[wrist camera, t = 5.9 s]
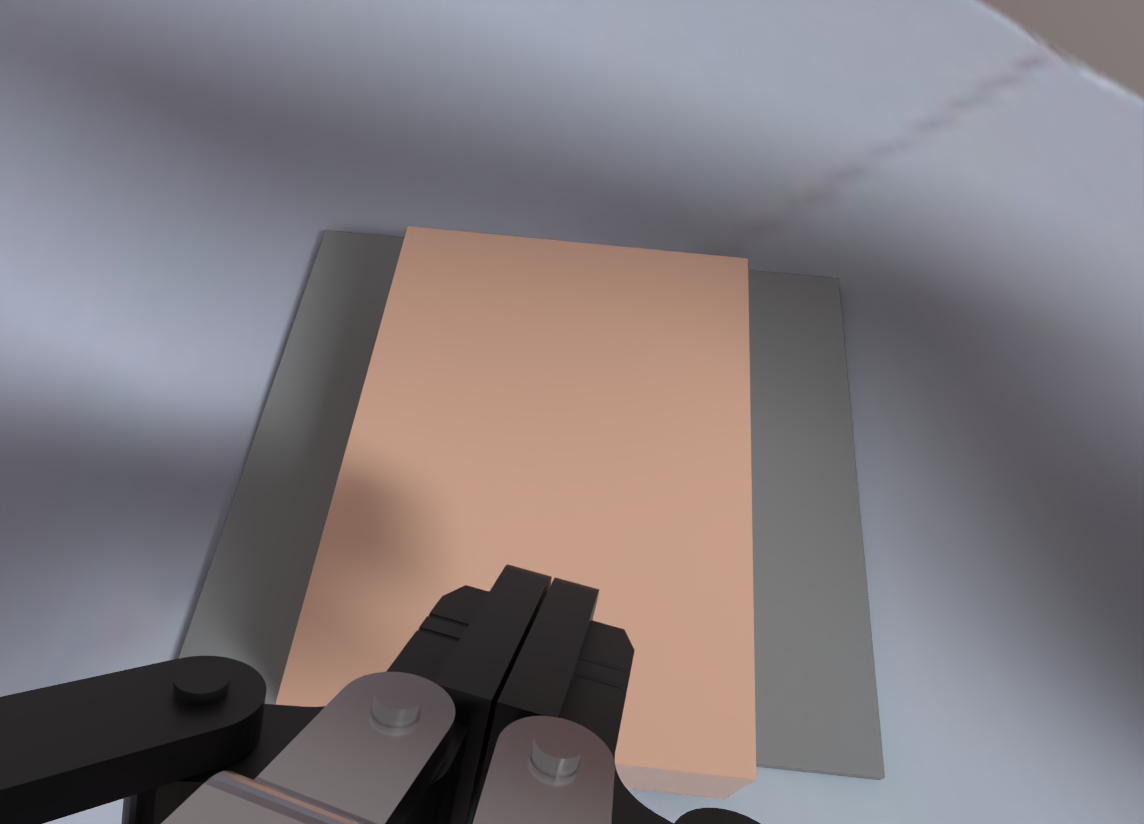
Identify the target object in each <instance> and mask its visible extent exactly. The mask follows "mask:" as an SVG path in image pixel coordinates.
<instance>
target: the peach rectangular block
mask: <svg viewBox="0 0 1144 824" xmlns="http://www.w3.org/2000/svg"><path fill="white" fill-rule="evenodd" d="M507 564H508V565H512V566H516V567H519V568H523V569H527V570H530V571H534V572H537V573H541V574H545V575H548V576H551V577H552V579H551V584H552V582H553V580H554V578H555V577H556V578H560V579H563V580H567V581H571V582H574V583H578V584H582V585H585V586H589V587H592V588H596V589H599V595H598V599H597V603H596V608H595V612H594V616H593V621H596V622H600V623H604V624H607V625H611V626H614V627H618V628H621V629H625V631H626V633H627V636H628V638H629V640H630V642H631V644H632V646H633V648H634V650H635V651H634V656H633V662H632V667H631V672H630V677H629V683H628V688H627V693H626V699H625V704H624V709H623V714H622V720H621V725H620V730H619V735H618V741H617V746H616V751H615V766H616V770H617V773H618V776H619V778H620V779H621V781H622V783H623V784H624V786H625V787H626V788H630V789H639V790H648V791H657V792H666V793H674V794H683V795H692V796H701V797H710V798H719V799H725V798H726V797H728V796H730V795H731V794H733V793H735V792H736V791H738V790H740V789H741V788H743V787H745V786H746V785H748V784H750V783H752V782H753V781H755V780H756V725H755V663H754V602H753V540H752V478H751V416H750V354H749V292H748V258H738V257H728V256H717V255H707V254H696V253H686V252H675V251H665V250H654V249H644V248H633V247H623V246H612V245H602V244H591V243H581V242H570V241H560V240H549V239H539V238H528V237H518V236H507V235H497V234H486V233H476V232H465V231H455V230H444V229H434V228H423V227H413V226H408V227H407V230H406V234H405V237H404V241H403V245H402V248H401V252H400V255H399V259H398V263H397V266H396V270H395V274H394V277H393V281H392V284H391V288H390V292H389V295H388V299H387V302H386V306H385V310H384V313H383V317H382V320H381V324H380V328H379V331H378V335H377V339H376V342H375V346H374V349H373V353H372V357H371V360H370V364H369V367H368V371H367V375H366V378H365V382H364V386H363V389H362V393H361V396H360V400H359V404H358V407H357V411H356V414H355V418H354V422H353V425H352V429H351V433H350V436H349V440H348V443H347V447H346V451H345V454H344V458H343V461H342V465H341V469H340V472H339V476H338V479H337V483H336V487H335V490H334V494H333V498H332V501H331V505H330V508H329V512H328V516H327V519H326V523H325V526H324V530H323V534H322V537H321V541H320V545H319V548H318V552H317V555H316V559H315V563H314V566H313V570H312V573H311V577H310V581H309V584H308V588H307V592H306V595H305V599H304V602H303V606H302V610H301V613H300V617H299V620H298V624H297V628H296V631H295V635H294V639H293V642H292V646H291V649H290V653H289V657H288V660H287V664H286V667H285V671H284V675H283V678H282V682H281V685H280V689H279V693H278V696H277V700H276V705H290V706H304V707H321V706H326V705H327V704H328V703H329V702H330V701H331V700H332V699H333V698H334V697H335V696H336V695H337V694H338V693H339V692H340V691H341V690H342V689H343V688H344V687H345V686H346V685H348V684H349V683H350V682H352V681H353V680H355V679H357V678H360V677H362V676H365V675H368V674H372V673H379V672H386V671H387V670H388V668H389V667H390V666H391V664H392V663H393V662H394V660H395V659H396V658H397V656H398V655H399V654H400V652H401V651H402V649H403V648H404V647H405V645H406V644H407V643H408V641H409V640H410V639H411V637H412V636H413V635H414V633H415V632H416V631H418V630H419V627H420V625H421V624H422V623H423V621H424V620H425V618H426V617H427V616H428V617H429V614H430V612H431V610H432V609H433V608H434V606H435V605H436V604H437V602H438V601H439V600H440V598H441V597H442V596H443V595H445V594H448V593H450V592H452V591H454V590H456V589H458V588H460V587H463V586H465V585H467V586H471V587H475V588H478V589H482V590H485V591H490V590H491V588H492V587H493V585H494V583H495V582H496V580H497V579H498V577H499V575H500V574H501V572H502V570H503V569H504V567H505V566H506V565H507Z"/></svg>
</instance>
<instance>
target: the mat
mask: <svg viewBox="0 0 1144 824" xmlns="http://www.w3.org/2000/svg"><path fill="white" fill-rule="evenodd" d="M403 241H404V237H393V236H383V235H372V234H362V233H351V232H340V231H330V230H326V231H325V233H324V236H323V239H322V242H321V245H320V248H319V251H318V254H317V257H316V260H315V263H314V265H313V268H312V271H311V274H310V277H309V280H308V283H307V286H306V289H305V292H304V295H303V297H302V300H301V303H300V306H299V309H298V312H297V315H296V318H295V321H294V324H293V327H292V329H291V332H290V335H289V338H288V341H287V344H286V347H285V350H284V353H283V356H282V359H281V361H280V364H279V367H278V370H277V373H276V376H275V379H274V382H273V385H272V388H271V391H270V393H269V396H268V399H267V402H266V405H265V408H264V411H263V414H262V417H261V420H260V423H259V425H258V428H257V431H256V434H255V437H254V440H253V443H252V446H251V449H250V452H249V455H248V457H247V460H246V463H245V466H244V469H243V472H242V475H241V478H240V481H239V484H238V487H237V489H236V492H235V495H234V498H233V501H232V504H231V507H230V510H229V513H228V516H227V519H226V521H225V524H224V527H223V530H222V533H221V536H220V539H219V542H218V545H217V548H216V551H215V553H214V556H213V559H212V562H211V565H210V568H209V571H208V574H207V577H206V580H205V583H204V585H203V588H202V591H201V594H200V597H199V600H198V603H197V606H196V609H195V612H194V615H193V617H192V620H191V623H190V626H189V629H188V632H187V635H186V638H185V641H184V644H183V647H182V649H181V652H180V655H179V658H185V657H191V656H220V657H227V658H231V659H235V660H238V661H241V662H244V663H246V664H248V665H250V666H251V667H253V668H254V669H256V670H257V671H258V672H259V673H260V674H261V675H262V677H263V679H264V680H265V683H266V687H267V690H266V699H265V704H276V700H277V696H278V693H279V689H280V685H281V682H282V678H283V675H284V671H285V667H286V664H287V660H288V657H289V653H290V649H291V646H292V642H293V639H294V635H295V631H296V628H297V624H298V620H299V617H300V613H301V610H302V606H303V602H304V599H305V595H306V592H307V588H308V584H309V581H310V577H311V573H312V570H313V566H314V563H315V559H316V555H317V552H318V548H319V545H320V541H321V537H322V534H323V530H324V526H325V523H326V519H327V516H328V512H329V508H330V505H331V501H332V498H333V494H334V490H335V487H336V483H337V479H338V476H339V472H340V469H341V465H342V461H343V458H344V454H345V451H346V447H347V443H348V440H349V436H350V433H351V429H352V425H353V422H354V418H355V414H356V411H357V407H358V404H359V400H360V396H361V393H362V389H363V386H364V382H365V378H366V375H367V371H368V367H369V364H370V360H371V357H372V353H373V349H374V346H375V342H376V339H377V335H378V331H379V328H380V324H381V320H382V317H383V313H384V310H385V306H386V302H387V299H388V295H389V292H390V288H391V284H392V281H393V277H394V274H395V270H396V266H397V263H398V259H399V255H400V252H401V248H402V245H403ZM748 292H749V354H750V416H751V478H752V540H753V602H754V663H755V725H756V767H766V768H775V769H784V770H793V771H802V772H811V773H820V774H830V775H839V776H848V777H857V778H866V779H875V780H880V779H883V778H885V774H884V763H883V752H882V741H881V731H880V720H879V709H878V698H877V688H876V677H875V666H874V655H873V644H872V634H871V623H870V612H869V601H868V591H867V580H866V569H865V558H864V547H863V537H862V526H861V515H860V504H859V494H858V483H857V472H856V461H855V451H854V440H853V429H852V418H851V407H850V397H849V386H848V375H847V364H846V354H845V343H844V332H843V321H842V311H841V300H840V289H839V278H829V277H818V276H807V275H797V274H786V273H776V272H765V271H754V270H748ZM179 658H178V659H179Z"/></svg>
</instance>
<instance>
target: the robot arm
mask: <svg viewBox="0 0 1144 824" xmlns="http://www.w3.org/2000/svg"><path fill="white" fill-rule="evenodd" d="M551 579H552V577H551V576H548V575H545V574H541V573H537V572H534V571H530V570H527V569H523V568H519V567H516V566H512V565H508V564H507V565H506V566H505V567H504V569H503V570H502V572H501V574H500V575H499V577H498V579H497V580H496V582H495V583H494V585H493V587H492V588H491V590H490V591H485V590H482V589H478V588H475V587H471V586H467V585H465V586H463V587H460V588H458V589H456V590H454V591H452V592H450V593H448V594H445V595H443V596H442V597H441V598H440V600H439V601H438V602H437V604H436V605H435V606H434V608H433V609H432V610H431V612H430V614H429V617H428V616H427V617H426V618H425V620H424V621H423V623H422V624H421V625H420V627H419V630H418V631H416V632H415V633H414V635H413V636H412V637H411V639H410V640H409V641H408V643H407V644H406V645H405V647H404V648H403V649H402V651H401V652H400V654H399V655H398V656H397V658H396V659H395V660H394V662H393V663H392V664H391V666H390V667H389V668H388V670H387V671H386V672H379V673H372V674H368V675H365V676H362V677H360V678H357V679H355V680H353V681H352V682H350V683H349V684H348V685H346V686H345V687H344V688H343V689H342V690H341V691H340V692H339V693H338V694H337V695H336V696H335V697H334V698H333V699H332V700H331V701H330V702H329V703H328V704H327V705H326V706H321V707H304V706H290V705H276V704H265V699H266V690H267V687H266V683H265V680H264V679H263V677H262V675H261V674H260V673H259V672H258V671H257V670H256V669H254V668H253V667H251V666H250V665H248V664H246V663H244V662H241V661H238V660H235V659H231V658H227V657H220V656H191V657H185V658H179V659H175V660H170V661H165V662H161V663H156V664H151V665H147V666H142V667H138V668H133V669H128V670H124V671H119V672H114V673H110V674H105V675H100V676H96V677H91V678H87V679H82V680H77V681H73V682H68V683H63V684H59V685H54V686H49V687H45V688H40V689H36V690H31V691H26V692H22V693H17V694H12V695H8V696H3V697H0V824H43V823H46V822H49V821H52V820H55V819H59V818H62V817H65V816H68V815H71V814H75V813H78V812H81V811H84V810H87V809H91V808H94V807H97V806H100V805H103V804H107V803H110V802H113V801H116V800H119V799H123V798H124V802H123V813H122V824H673V823H671V822H670V821H668V820H666V819H665V818H663V817H661V816H659V815H658V814H656V813H654V812H653V811H651V810H650V809H648V808H647V807H645V806H644V805H643V804H642V803H640V802H639V801H638V800H637V799H636V798H635V797H634V796H633V795H632V794H631V793H630V792H629V791H628V790H627V788H626V787H625V786H624V784H623V783H622V781H621V779H620V778H619V776H618V773H617V770H616V766H615V751H616V746H617V741H618V735H619V730H620V725H621V720H622V714H623V709H624V704H625V699H626V693H627V688H628V683H629V677H630V672H631V667H632V662H633V656H634V651H635V650H634V648H633V646H632V644H631V642H630V640H629V638H628V636H627V633H626V631H625V629H621V628H618V627H614V626H611V625H607V624H604V623H600V622H596V621H593V616H594V612H595V608H596V603H597V599H598V595H599V589H596V588H592V587H589V586H585V585H582V584H578V583H574V582H571V581H567V580H563V579H560V578H556V577H555V578H554V580H553V582H552V584H551ZM674 824H760V823H758V822H757V821H755V820H753V819H751V818H749V817H747V816H744V815H742V814H739V813H737V812H733V811H729V810H726V809H719V808H701V809H695V810H692V811H689V812H687V813H685V814H684V815H682V816H680V817H679V819H678V820H677V821H676V822H675V823H674Z"/></svg>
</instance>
